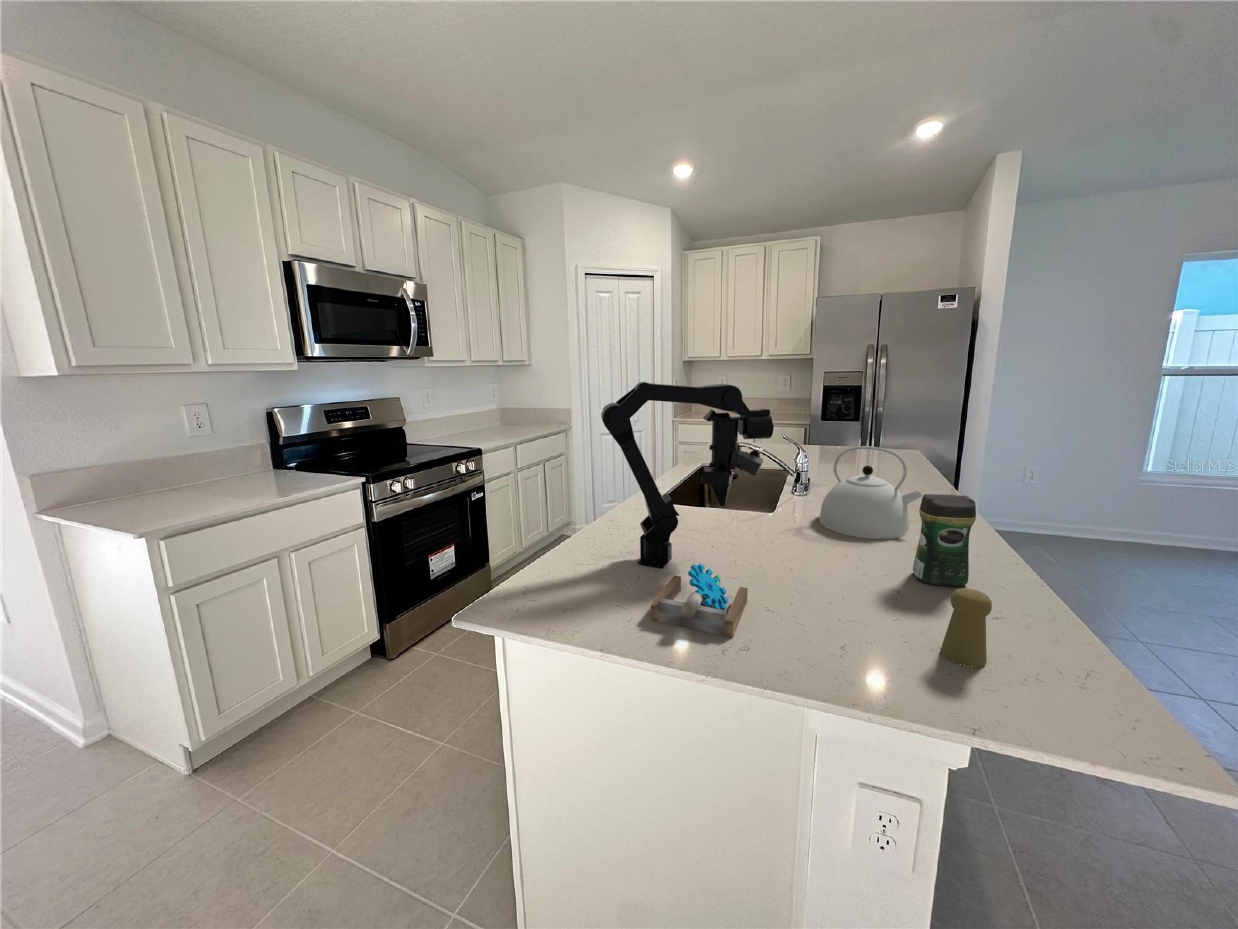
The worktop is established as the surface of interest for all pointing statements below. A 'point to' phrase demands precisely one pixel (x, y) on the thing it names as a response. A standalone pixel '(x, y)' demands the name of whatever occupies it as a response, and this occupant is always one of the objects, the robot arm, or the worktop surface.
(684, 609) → the cradle
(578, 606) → the worktop surface
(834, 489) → the kettle
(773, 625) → the worktop surface
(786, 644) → the worktop surface
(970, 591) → the cork
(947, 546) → the coffee jar
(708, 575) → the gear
